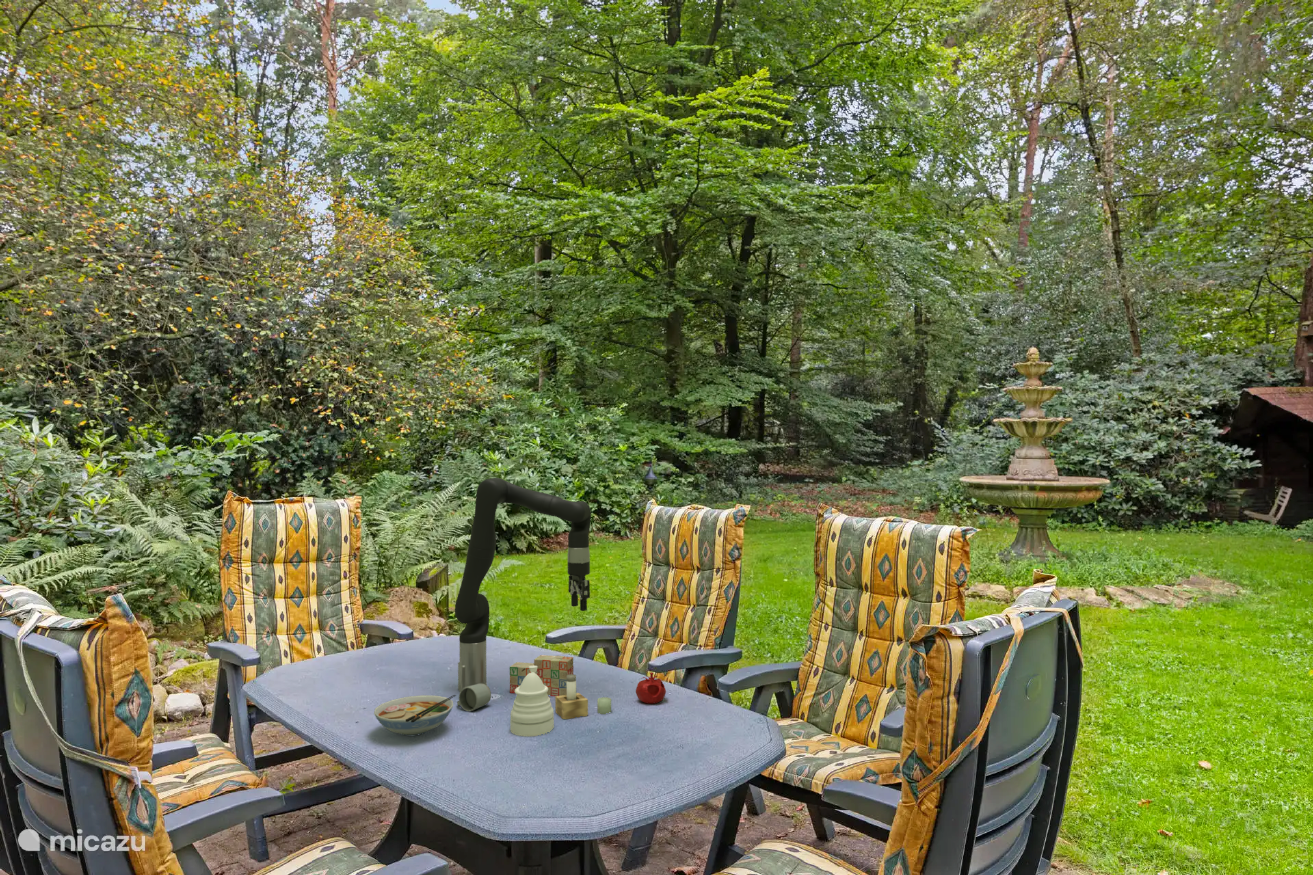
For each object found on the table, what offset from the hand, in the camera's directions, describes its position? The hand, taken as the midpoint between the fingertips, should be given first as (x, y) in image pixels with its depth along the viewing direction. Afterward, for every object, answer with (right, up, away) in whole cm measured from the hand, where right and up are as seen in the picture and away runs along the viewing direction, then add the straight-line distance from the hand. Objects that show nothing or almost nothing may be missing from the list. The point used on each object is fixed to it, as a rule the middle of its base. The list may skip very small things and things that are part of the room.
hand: (579, 608), depth 262 cm
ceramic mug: (-34, -31, -9) cm, 47 cm away
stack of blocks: (-14, -31, +6) cm, 34 cm away
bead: (+10, -30, -15) cm, 35 cm away
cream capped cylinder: (-1, -30, -17) cm, 34 cm away
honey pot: (-11, -30, -30) cm, 44 cm away
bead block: (-1, -30, -17) cm, 34 cm away
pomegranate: (+24, -30, -4) cm, 39 cm away
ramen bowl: (-46, -30, -31) cm, 63 cm away
